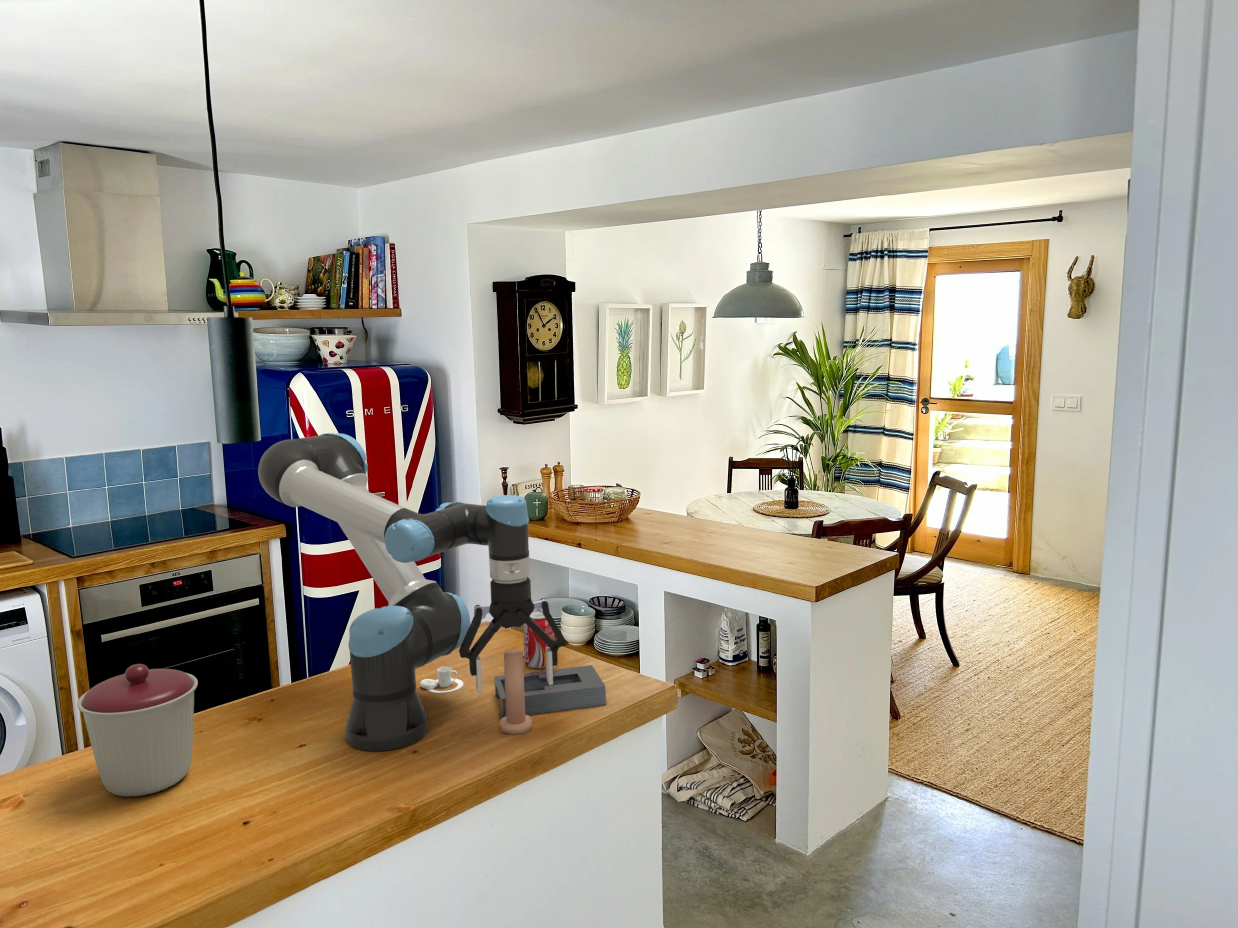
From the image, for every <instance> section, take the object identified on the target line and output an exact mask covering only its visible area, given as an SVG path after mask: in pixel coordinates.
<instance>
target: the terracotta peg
mask: <svg viewBox="0 0 1238 928" xmlns="http://www.w3.org/2000/svg"><path fill="white" fill-rule="evenodd" d="M503 663H504V664H503V665H504V667H503V668H504V675H505V693H506V716H505V717H503V718H501V719H500V721H499V722H500V731H501V732H502V733H503V734H506V735H511V736H513V735H514V736H515V735H516V736H517V735H523V734H525V733H528V732H529V731H531V730H532V729H533V721H532V720H533V718H532V717H531V715H525V694H524V673H525V672H524V671H525V669H524V651H522V650H520V649H509V650H507V651H504V653H503Z"/></svg>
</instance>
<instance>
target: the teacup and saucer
mask: <svg viewBox="0 0 1238 928" xmlns="http://www.w3.org/2000/svg"><path fill="white" fill-rule="evenodd" d="M453 672H454V673H455V677H452V674H453ZM436 675H437V679H432V678H425V679H422V680H421V681H420V682H419V684H420V687H421V688H423V689H425V690H427V691H428V692H431V693H435V694H445V693H453V692H455V691H458V690H459V689H462V688H463V686H464V682H463V680H461V679H458V678H457V676H458V672H457V670H455V669H454V670H452V667H451V666H440V667H438V668H437V669H436ZM454 682H455V683H456V684H457V685H456V686H455V687H454V688H452V689H449V690H437V689H436V688H437V687H438V686H439V687H440V688H448V687H450V686H451V684H453V683H454Z"/></svg>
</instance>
